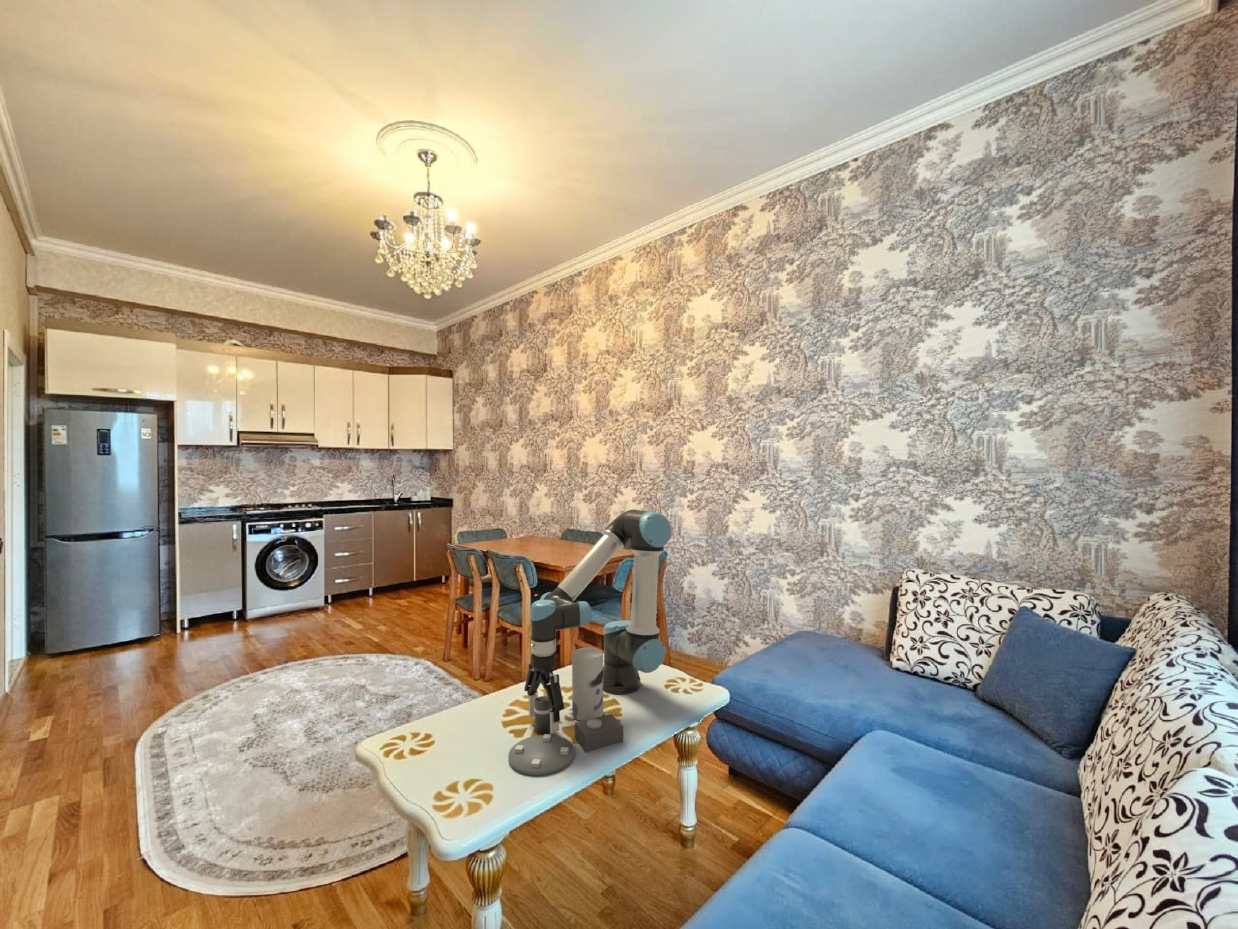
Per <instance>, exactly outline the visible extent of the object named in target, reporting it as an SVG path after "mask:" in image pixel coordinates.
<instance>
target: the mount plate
mask: <svg viewBox="0 0 1238 929" xmlns="http://www.w3.org/2000/svg"><path fill="white" fill-rule="evenodd" d="M574 759H575V747H574V745H573V743H572V742H571V740H569V739H567V738H565V737H562V736H560V735H554V734H551V733H548V734H538V735H533V736H529V737H526V738H524V739H522V740H519V741H518V742H516V743H515V744H514V745H513V746H512V747H511V748H510V750H509V752H508V764H509V766H510V768H511V769H512V770H513V771H515V772H516V773H519V774H521V775H525V776H530V777H531V776H532V777H533V776H534V777H543V776H548V775H553V774H556V773H558V772H561V771H562V770H564V769H566V768H567V767H568V766H570V765H571V763H572V762H573V761H574Z"/></svg>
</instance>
